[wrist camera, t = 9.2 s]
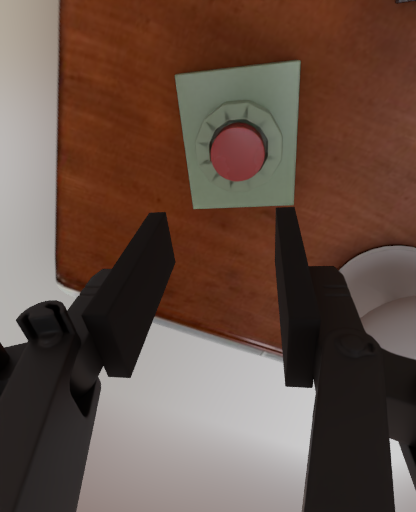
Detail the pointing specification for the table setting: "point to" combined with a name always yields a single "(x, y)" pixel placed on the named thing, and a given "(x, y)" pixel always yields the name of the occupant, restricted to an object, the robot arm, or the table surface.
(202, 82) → the control block
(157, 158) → the table surface
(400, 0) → the toaster
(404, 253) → the chalice
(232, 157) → the button
